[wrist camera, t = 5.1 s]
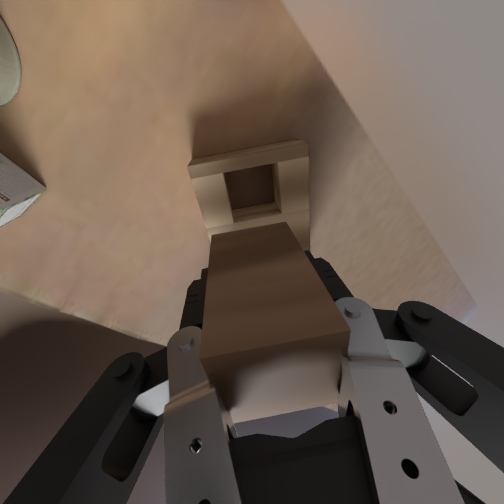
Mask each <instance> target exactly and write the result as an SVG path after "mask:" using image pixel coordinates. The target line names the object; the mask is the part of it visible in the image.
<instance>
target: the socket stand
mask: <svg viewBox="0 0 504 504" xmlns="http://www.w3.org/2000/svg"><path fill="white" fill-rule="evenodd" d="M267 164H271V168H272V177H273V187H274V197H275V202H271V203H266V204H261V205H256V206H251V207H246V208H241V209H235V210H232V206H231V201H230V197H229V192H228V188H227V183H226V178H225V174H224V173H225V172H230V171H236V170H241V169H246V168H251V167H256V166H262V165H267ZM187 167H188V171H189V174H190V177H191V180H192V184H193V187H194V190H195V194H196V197H197V200H198V203H199V207H200V210H201V213H202V217H203V220H204V223H205V226H206V230H207V233H208V236H209V239H210V243H211V236H212V235H214V234H219V233H225V232H231V231H236V230H242V229H247V228H253V227H258V226H264V225H270V224H275V223H281V222H287V224H288V226H289V227H290V229H291V231H292V232H293V234H294V236H295V237H296V239H297V241H298V242H299V244H300V246H301V247H302V249H303V251H305V250H309V251H310V197H309V143H307V142H304V141H301V140H298V139H295V140H289V141H284V142H279V143H274V144H268V145H263V146H258V147H253V148H247V149H242V150H237V151H232V152H227V153H221V154H216V155H211V156H206V157H200V158H195V159H192V160H191V161H190V163H189V165H188V166H187Z"/></svg>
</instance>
